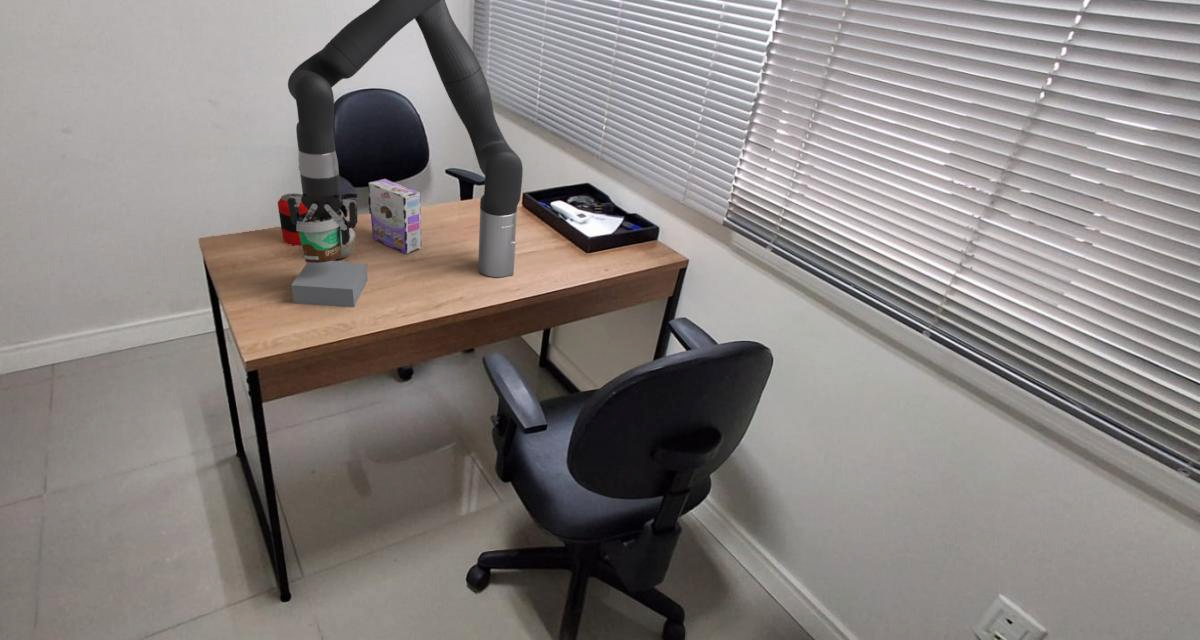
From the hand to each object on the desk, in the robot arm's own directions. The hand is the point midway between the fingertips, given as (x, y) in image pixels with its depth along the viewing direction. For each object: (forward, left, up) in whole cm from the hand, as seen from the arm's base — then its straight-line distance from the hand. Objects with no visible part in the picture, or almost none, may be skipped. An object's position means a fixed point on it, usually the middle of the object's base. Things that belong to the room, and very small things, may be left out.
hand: (327, 242), depth 138 cm
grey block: (0, 0, -13) cm, 13 cm away
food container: (0, 0, -4) cm, 4 cm away
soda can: (+14, -27, -13) cm, 33 cm away
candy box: (-11, -28, -13) cm, 33 cm away
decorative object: (+2, -18, -13) cm, 22 cm away
